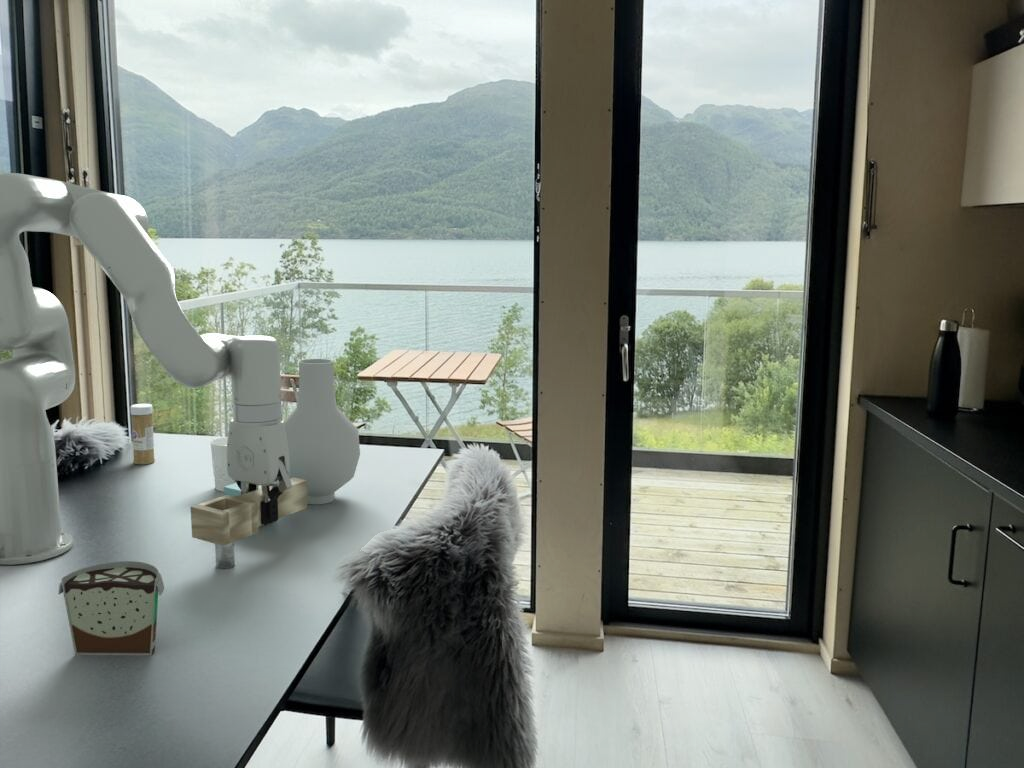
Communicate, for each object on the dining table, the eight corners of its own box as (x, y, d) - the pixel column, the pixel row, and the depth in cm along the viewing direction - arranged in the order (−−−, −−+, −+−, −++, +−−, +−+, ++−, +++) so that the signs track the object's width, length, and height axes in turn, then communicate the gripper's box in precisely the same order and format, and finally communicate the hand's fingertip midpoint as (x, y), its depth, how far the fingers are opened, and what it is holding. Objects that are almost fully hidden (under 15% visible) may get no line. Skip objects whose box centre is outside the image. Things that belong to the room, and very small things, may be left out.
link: (223, 546, 122) (221, 514, 121) (192, 537, 125) (190, 506, 124) (315, 509, 139) (315, 482, 138) (286, 503, 142) (285, 475, 142)
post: (224, 570, 125) (222, 527, 124) (212, 566, 127) (210, 524, 126) (238, 564, 128) (237, 522, 127) (226, 560, 129) (224, 519, 128)
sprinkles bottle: (128, 463, 182) (125, 405, 180) (144, 458, 187) (141, 402, 184) (144, 466, 181) (141, 407, 179) (159, 461, 185) (156, 404, 183)
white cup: (258, 483, 171) (257, 437, 169) (242, 494, 163) (241, 446, 161) (223, 481, 171) (221, 435, 170) (205, 492, 164) (203, 444, 162)
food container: (182, 631, 106) (179, 559, 104) (163, 655, 100) (160, 579, 98) (87, 631, 105) (82, 558, 104) (62, 654, 99) (57, 578, 97)
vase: (374, 491, 167) (373, 358, 162) (336, 516, 151) (334, 369, 146) (302, 483, 171) (299, 353, 166) (258, 507, 155) (254, 364, 151)
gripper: (203, 410, 131) (209, 518, 134) (277, 422, 123) (281, 537, 126) (239, 403, 137) (244, 506, 140) (311, 414, 129) (314, 523, 132)
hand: (261, 519), depth 133 cm, fingers closed on link, 3 cm apart
